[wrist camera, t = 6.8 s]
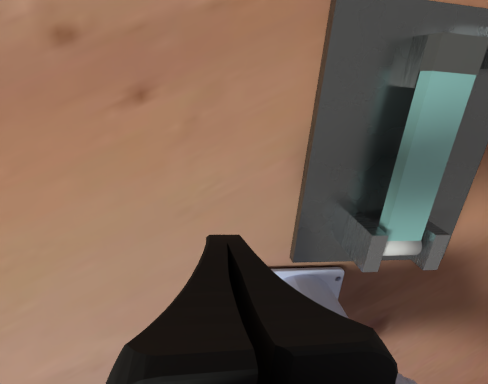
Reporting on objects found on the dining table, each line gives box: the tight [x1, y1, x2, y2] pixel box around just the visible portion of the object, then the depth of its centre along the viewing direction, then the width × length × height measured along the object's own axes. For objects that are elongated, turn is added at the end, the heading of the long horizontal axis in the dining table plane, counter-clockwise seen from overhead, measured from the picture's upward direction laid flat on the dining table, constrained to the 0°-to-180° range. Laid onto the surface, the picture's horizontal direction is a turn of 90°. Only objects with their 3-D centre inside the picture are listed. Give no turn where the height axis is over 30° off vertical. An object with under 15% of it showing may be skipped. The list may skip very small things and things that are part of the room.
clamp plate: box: [290, 0, 488, 272], centre depth 20 cm, size 19×14×6 cm
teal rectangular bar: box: [378, 32, 488, 256], centre depth 20 cm, size 15×3×2 cm, turn 176°
